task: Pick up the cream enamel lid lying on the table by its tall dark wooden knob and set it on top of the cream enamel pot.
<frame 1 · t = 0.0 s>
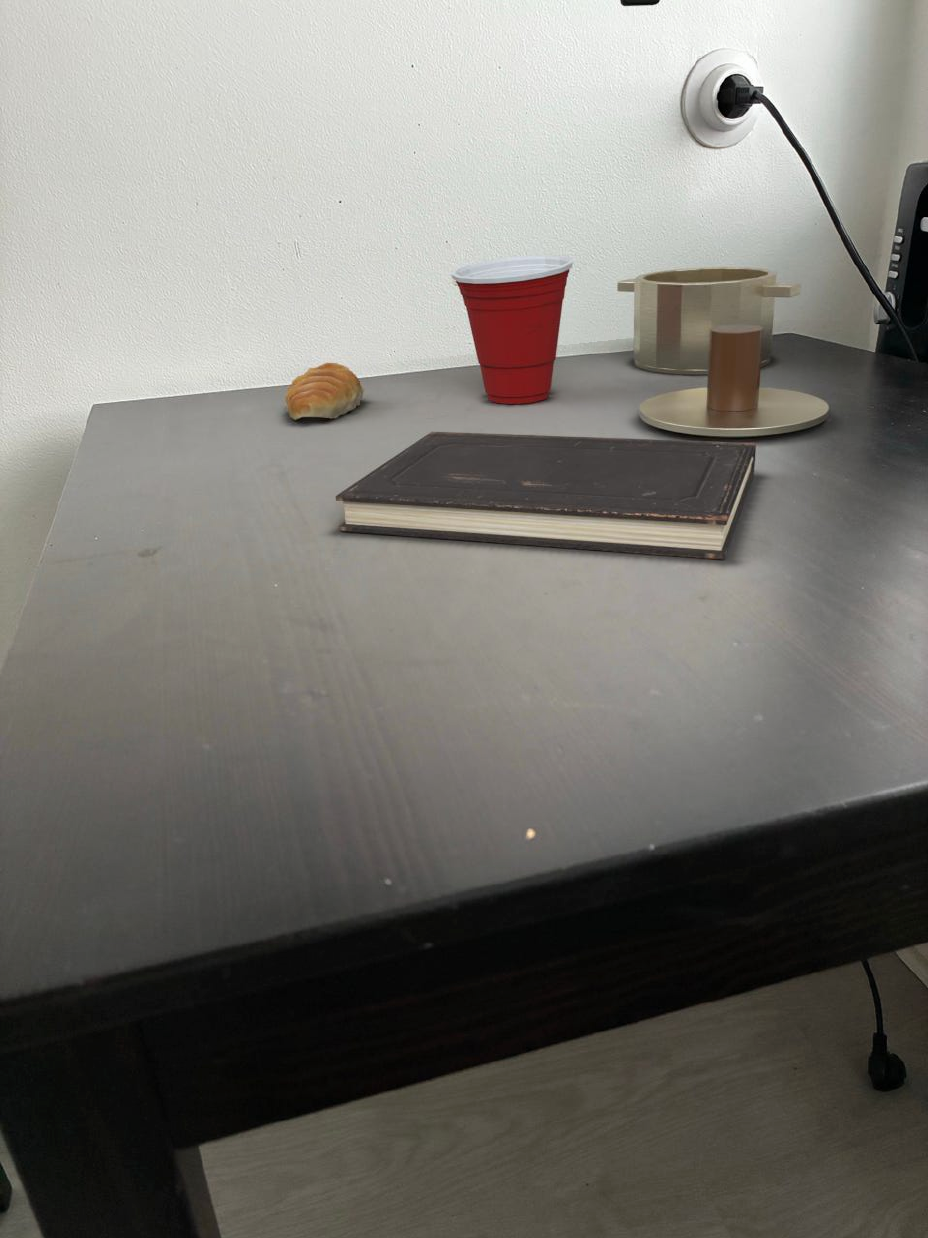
plastic cup: (517, 400, 92), on the table
lid: (731, 413, 80), point 1 cm above the table
hardcover book: (556, 504, 64), on the table
pastry: (326, 412, 92), on the table
pot: (701, 361, 103), on the table
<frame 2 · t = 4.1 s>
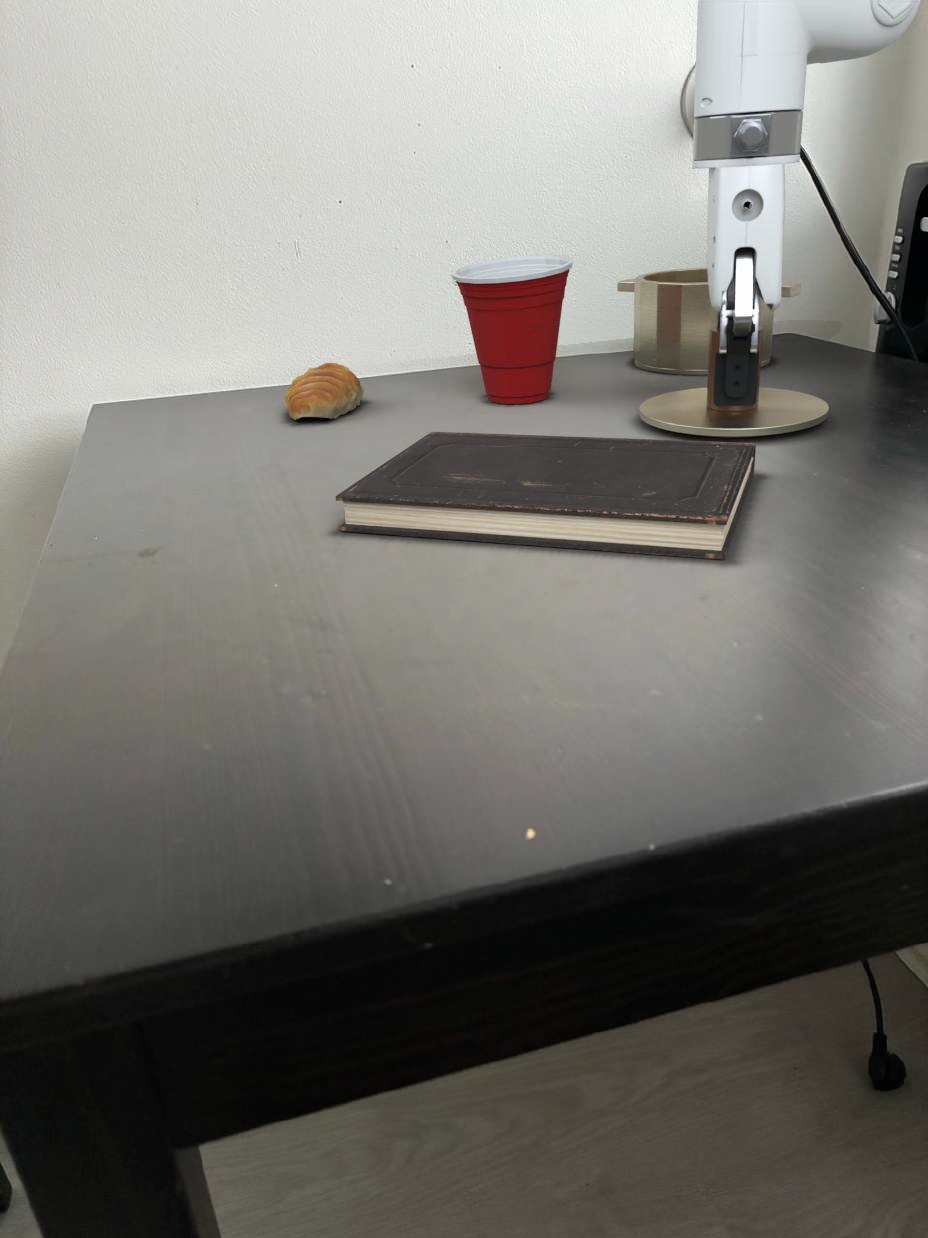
hand: (732, 395, 79), 2 cm above the table, tool pointing down, fingers closed on lid, 4 cm apart
lid: (731, 413, 80), point 1 cm above the table, touching gripper
everything else where it was.
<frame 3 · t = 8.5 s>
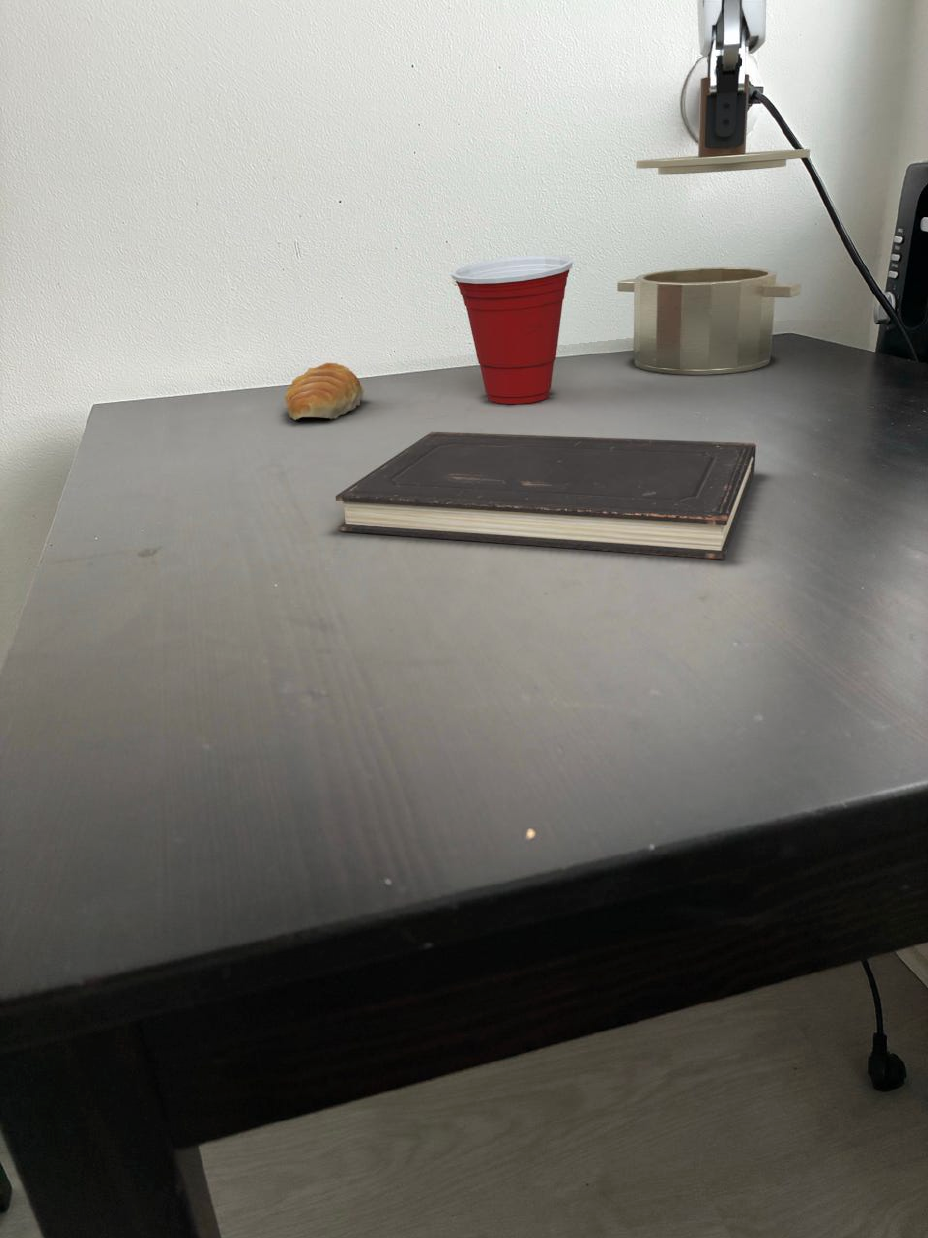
hand: (722, 144, 86), 20 cm above the table, tool pointing down, fingers closed on lid, 4 cm apart
lid: (721, 162, 87), point 19 cm above the table, touching gripper
everything else where it was.
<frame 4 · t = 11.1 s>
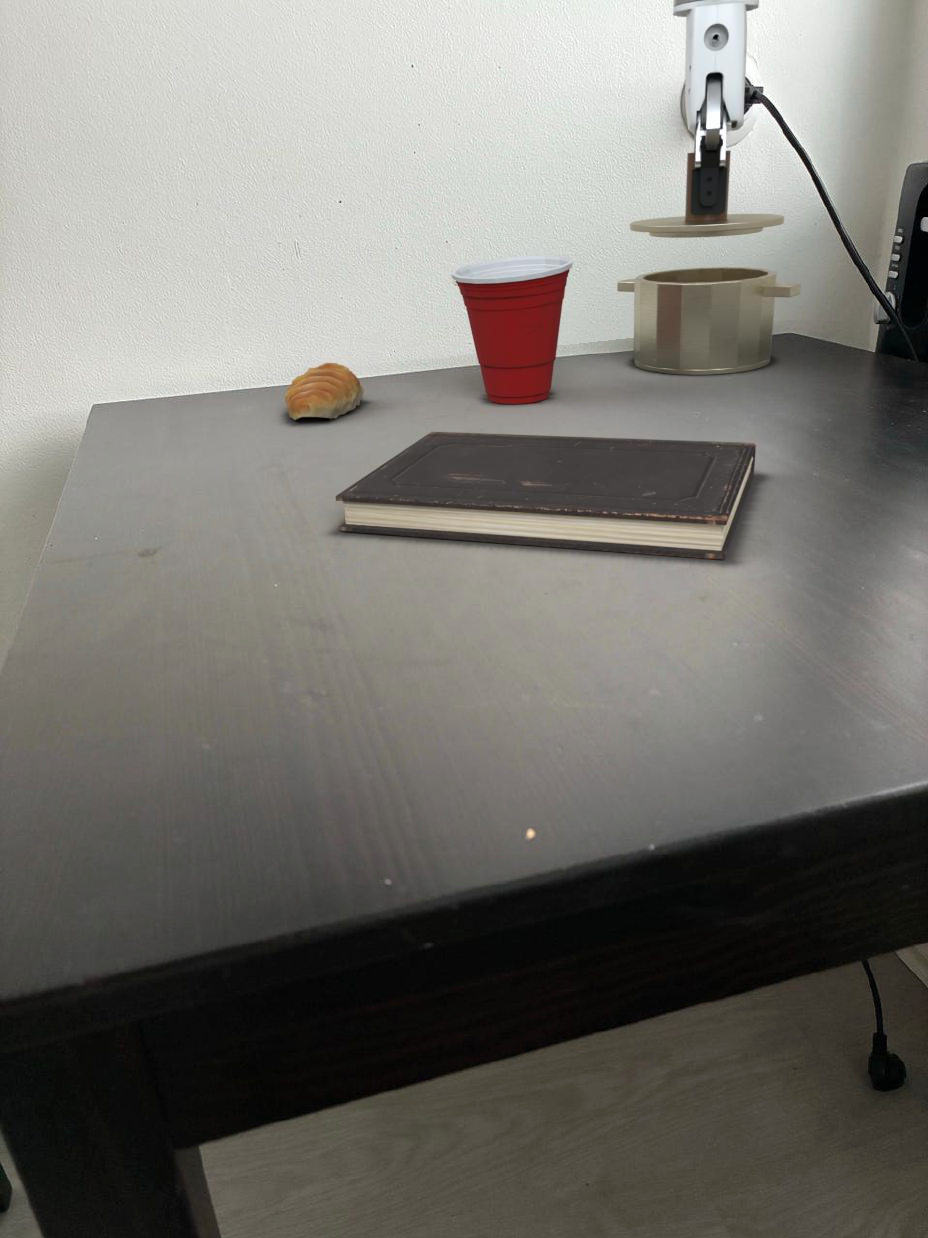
hand: (706, 210, 97), 14 cm above the table, tool pointing down, fingers closed on lid, 4 cm apart
lid: (705, 225, 97), point 13 cm above the table, touching gripper
everything else where it was.
when the fingers open (10 cm above the table, at t = 12.7 s): lid stays where it is, resting on pot.
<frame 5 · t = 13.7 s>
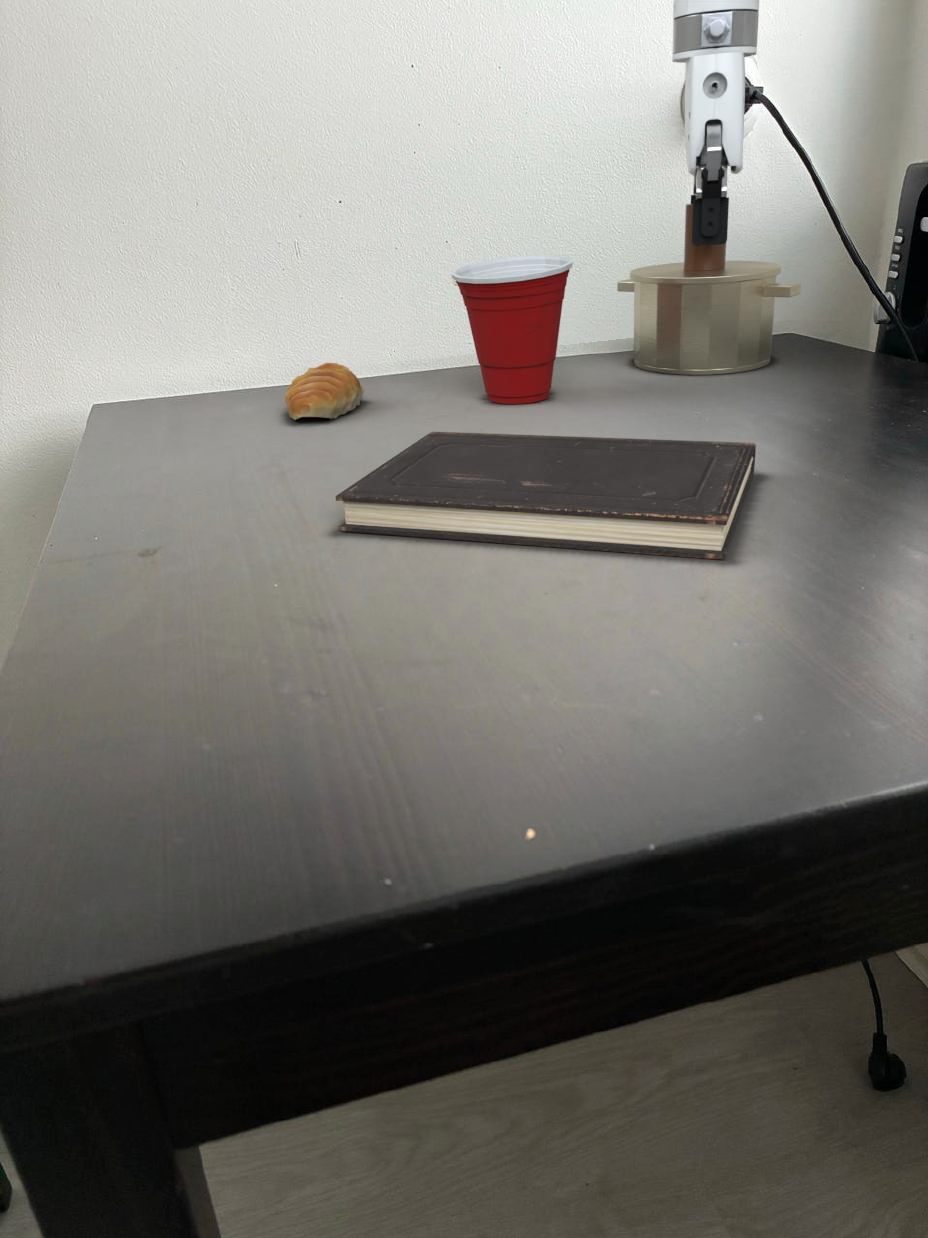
hand: (707, 240, 98), 12 cm above the table, tool pointing down, fingers open, 9 cm apart
lid: (704, 274, 99), point 8 cm above the table, touching pot
everything else where it was.
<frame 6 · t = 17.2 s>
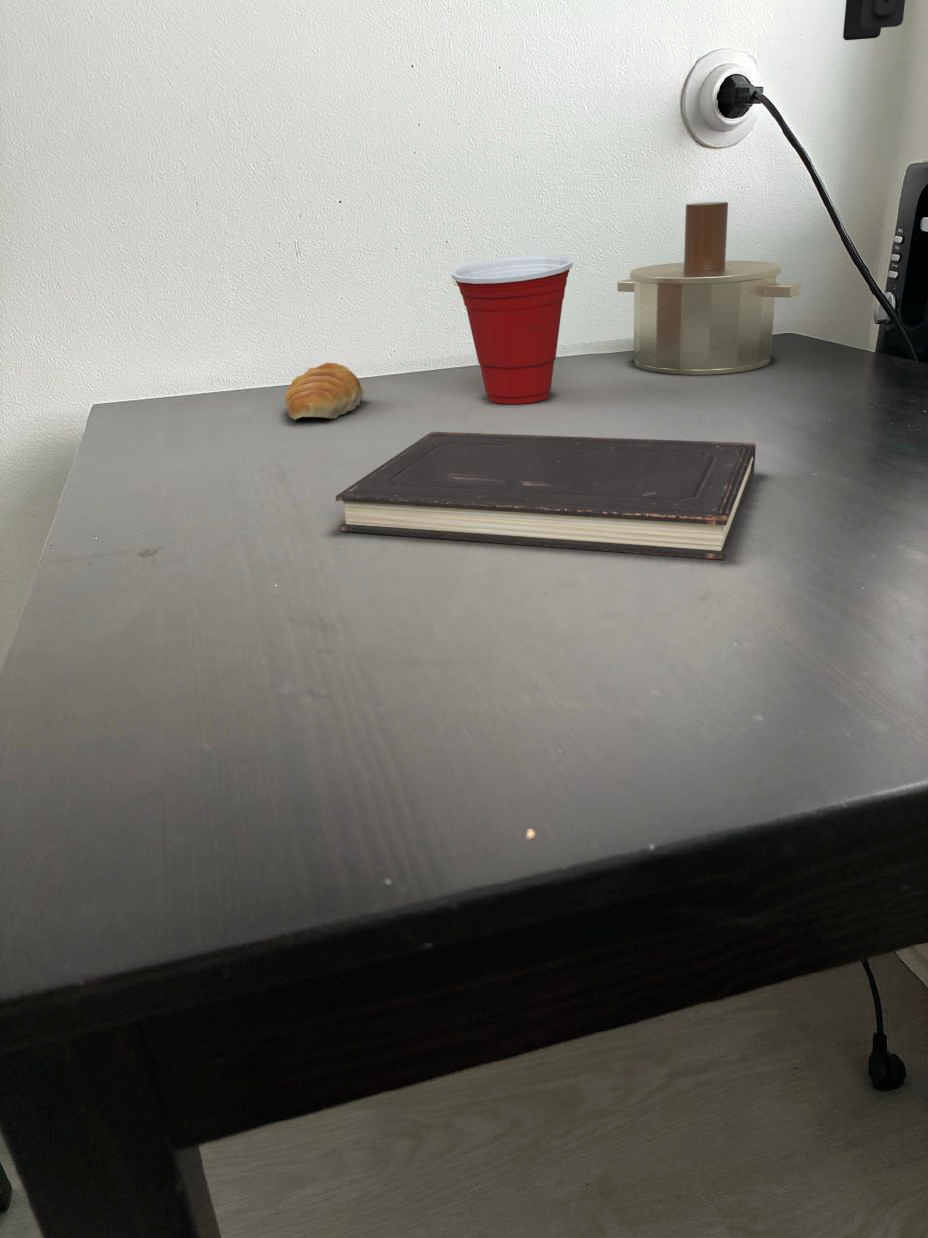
hand: (870, 33, 88), 28 cm above the table, tool pointing down, fingers open, 9 cm apart
nothing on the table moved.
at the end: lid 0.1 cm off-centre on the pot, point 8.5 cm above the pot's base; lid tilted 0° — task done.
